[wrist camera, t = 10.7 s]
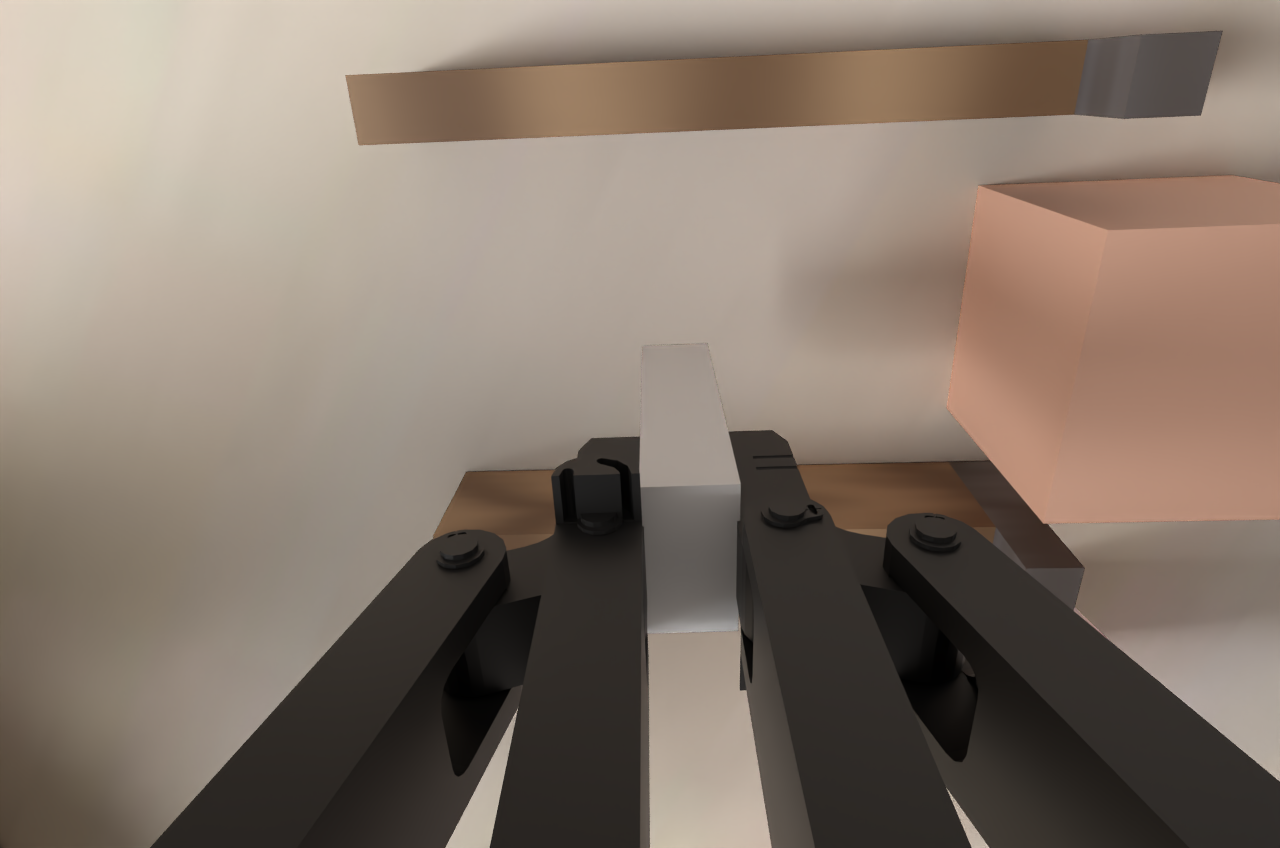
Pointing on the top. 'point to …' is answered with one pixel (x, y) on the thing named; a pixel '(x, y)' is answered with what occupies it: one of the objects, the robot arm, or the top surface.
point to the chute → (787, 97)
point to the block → (1126, 347)
